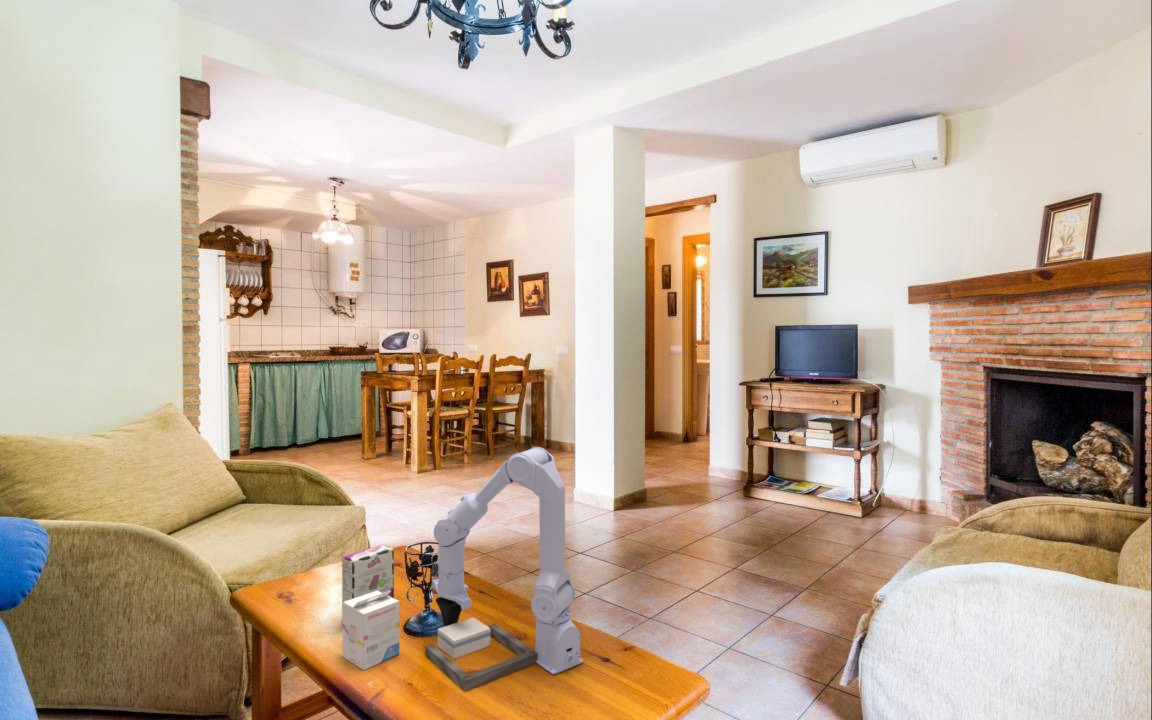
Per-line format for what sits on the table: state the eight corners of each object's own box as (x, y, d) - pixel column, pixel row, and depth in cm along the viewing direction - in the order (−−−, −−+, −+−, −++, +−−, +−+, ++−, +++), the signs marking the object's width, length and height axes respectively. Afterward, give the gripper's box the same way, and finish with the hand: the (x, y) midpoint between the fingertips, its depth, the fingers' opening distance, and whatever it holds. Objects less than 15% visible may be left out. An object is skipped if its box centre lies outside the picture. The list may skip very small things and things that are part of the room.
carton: (490, 646, 133) (490, 628, 132) (453, 660, 127) (453, 641, 126) (473, 634, 138) (473, 617, 138) (437, 647, 132) (437, 628, 132)
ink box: (377, 641, 133) (378, 581, 133) (400, 654, 128) (401, 591, 128) (341, 657, 127) (341, 593, 126) (363, 671, 121) (364, 605, 121)
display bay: (537, 662, 126) (537, 653, 126) (464, 691, 115) (465, 680, 115) (494, 632, 139) (494, 623, 139) (425, 655, 128) (425, 645, 128)
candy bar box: (382, 609, 149) (382, 543, 149) (394, 615, 146) (395, 548, 146) (340, 626, 140) (341, 555, 140) (352, 632, 137) (353, 560, 137)
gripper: (483, 575, 134) (482, 636, 134) (451, 557, 145) (451, 613, 145) (454, 583, 129) (453, 646, 129) (424, 563, 140) (423, 621, 141)
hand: (450, 629), depth 137 cm, fingers closed
